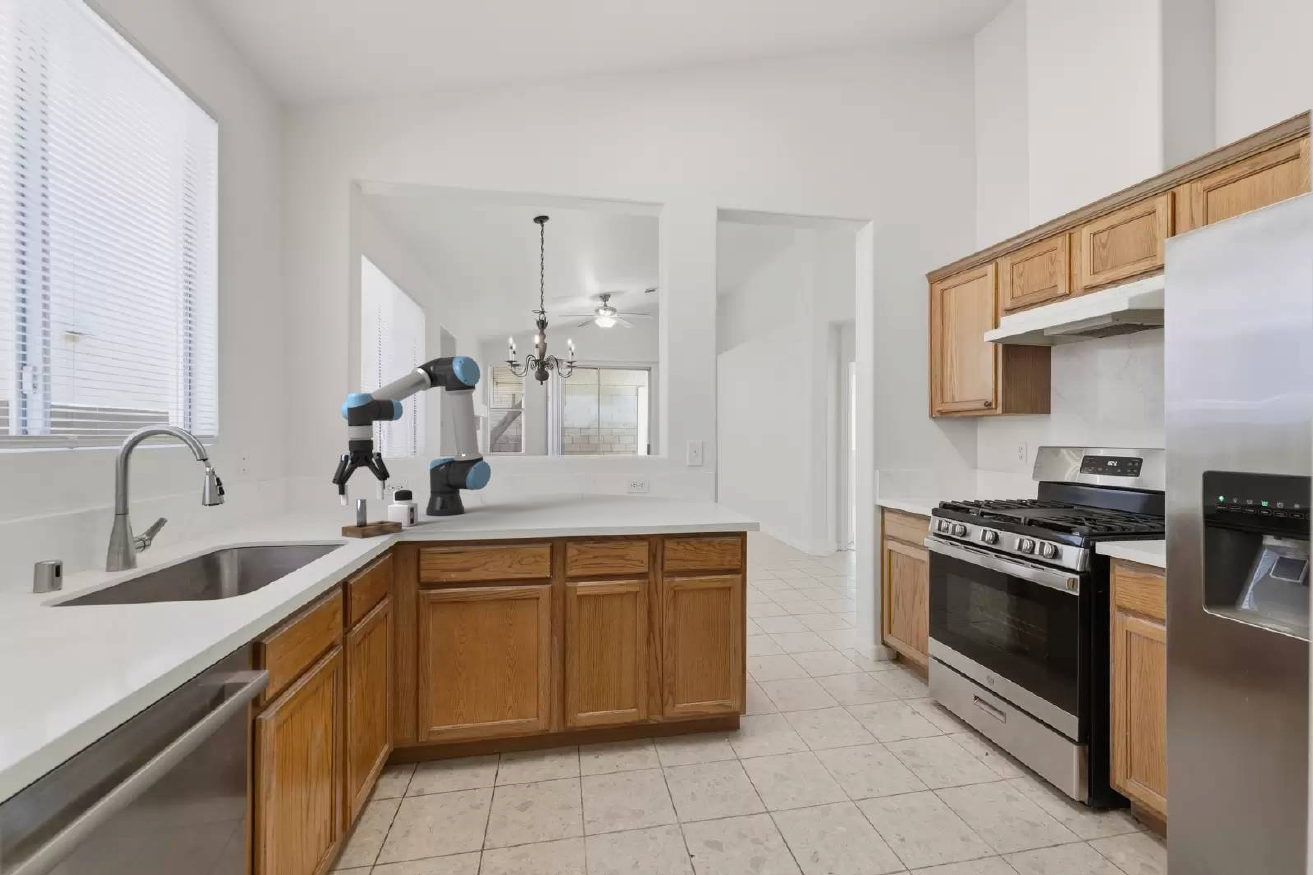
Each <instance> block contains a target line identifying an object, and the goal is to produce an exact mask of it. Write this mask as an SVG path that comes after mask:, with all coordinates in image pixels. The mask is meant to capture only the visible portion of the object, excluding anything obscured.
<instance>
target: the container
mask: <svg viewBox="0 0 1313 875" xmlns="http://www.w3.org/2000/svg"><path fill="white" fill-rule="evenodd" d="M392 495H393V504H391V505H389V504H388V505H387V521H393V522H402V528H409V527H412V526H415V525H418V523H419V518H418V517H419V513H418V512H419V510H418V509H419V508H418V503H415V502H413V491H412V490H409V489H399V490H398V489H397V490H395V491H393V493H392ZM412 502H413V503H412Z"/></svg>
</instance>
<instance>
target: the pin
mask: <svg viewBox="0 0 1313 875" xmlns="http://www.w3.org/2000/svg"><path fill="white" fill-rule="evenodd" d="M367 510H368V509H367V499H365V498H359V499H356V525H357V527H358V528H362V527H367V523H368V521H367V519H368V518H367V515H368V513H367Z"/></svg>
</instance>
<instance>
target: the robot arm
mask: <svg viewBox="0 0 1313 875" xmlns="http://www.w3.org/2000/svg"><path fill="white" fill-rule="evenodd" d="M480 379H481V369H480V367H479V365H478V363H477V361H475V360H474V359H473V358H471V357H469V356H461V355H458V356H451V357H449V356H448V357H438V358H434V359H432V360H429V361H427V362H425V363H423V364H421V365H419V366H417V367H415V368H413V369H412V370H411V373H409V374H407V375H405V376H403V377H400V378H399V379H397V380H394V381H393V382H391V383H389V384H387V385H384V386H382V387H380V388H378V389H376V390H374V391H372V392H369V393H368V392H352V393H349V394H348V395H347V400H346V401H345V402H344V403H343V404H342V406H341V414H342V417H343V419H345V420H347V428H348V430H347V431H348V432H347V435H348V436H347V437H348V439H349V441H348V451H349V455H348V454H340V459H339V460H340V461H339V463H338V467H337V469H336V471H335V473H334V476H333V478H332V484H334V485H336V486H337V487H338V488H337V489H338V495H339V496H340V506H349V485H348V484H347V482H348V481H349V479H350V478H351V477H352V475H353V473H354V472H355V470H357V469H358V468H363V467H366V468H368V469H369V470H370V472H371V473H372V474H373V475H374V477H375V478H376V479H377V480H375V481H376V482H375V485H376V486H375V487H376V492H375V493H376V500H378V501H379V500H381V501H382V500H384V499H385V496H384V494H385V493H384V491H385V490H386V481H387V480H388V479H389V478H390V477H391V475H390V472H389V471H388V469H387V466H386V464H385V462H384V460H383V458H382V457H383V456H382V452H380V451H377V452H376V451H375V452H373V450H374V440H373V437H374V426H373V425H374V424H373V423H374V422H388V421H389V422H393V421H398V420H400V419H401V418H402V416H403V414H404V411H403V410H404V408H403V405H402V403H401V402H402V401H403V400H405V399H407V398H409V397H411V396H413V395H414V394H415V395H416V394H417V393H419V392H420V391H421V392H422V391H423V392H426V391H428V390H430V389H433V388H438V387H439V388H440V387H442V388H443V387H444V388H445V389H444V390H445V393H447V394H448V395H449V399H450V408H451V416H452V425H453V433H454V442H455V450H456V451H455V452H456V454H455V456H454V457H446V458H438V459H433V460H431V461H430V464H429V490H430V491H429V492H430V496H429V499H428V503H427V507H426V508H425V514H426V515H427V516H439V517H441V516H454V515H460V514H465V506H464V505H463V500H462V498H461V494H460V493H461V492H460V490H469V491H477V490H482V489H484V488H485V487H486V486H487V485H488V482H489V481H490V479H491V473H492V471H491V470H492V469H491V466H490V464H489V463H488V462H487V461H485V460H484V455H483V454H482V453H481V452H480V450H479V443H478V442H479V441H478V435H477V426H476V417H475V407H474V398H473V393H474V392H475V391H476V385H477V384H478V383H479V382H480ZM373 459H374V460H373ZM349 461H350V462H349ZM390 479H391V478H390Z"/></svg>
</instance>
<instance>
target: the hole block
mask: <svg viewBox="0 0 1313 875" xmlns="http://www.w3.org/2000/svg"><path fill="white" fill-rule="evenodd" d="M398 532H403V527H402V522H393V521H388V520H378V521H376V520H375V521H371V522H367V527H362V528H358V527H357V524H352V525H346V526H341V537H349V538H357V539H367V538H370V537H376V536H382V535H387V534H394V533H398Z"/></svg>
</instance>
